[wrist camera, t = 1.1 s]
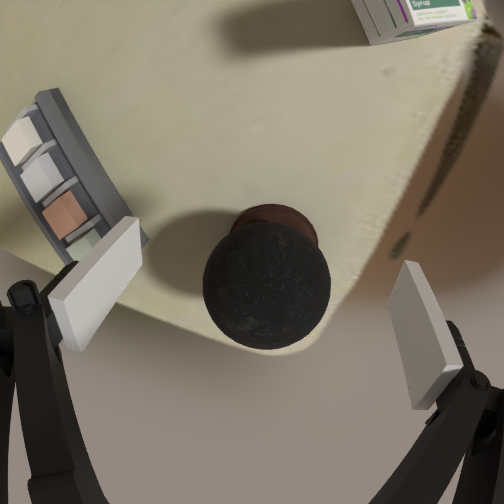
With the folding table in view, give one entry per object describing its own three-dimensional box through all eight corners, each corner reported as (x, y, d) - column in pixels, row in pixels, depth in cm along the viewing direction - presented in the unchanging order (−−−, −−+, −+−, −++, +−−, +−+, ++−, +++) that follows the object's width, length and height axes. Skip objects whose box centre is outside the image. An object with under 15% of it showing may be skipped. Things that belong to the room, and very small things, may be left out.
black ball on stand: (203, 254, 43) (165, 334, 30) (257, 174, 36) (233, 236, 24) (285, 303, 45) (276, 390, 32) (347, 236, 39) (366, 319, 26)
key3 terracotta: (52, 204, 38) (41, 212, 36) (69, 189, 36) (59, 197, 34) (69, 231, 40) (59, 239, 38) (87, 218, 38) (78, 226, 36)
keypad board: (11, 140, 37) (-8, 148, 33) (58, 87, 33) (36, 92, 29) (91, 268, 47) (77, 284, 43) (148, 239, 43) (135, 256, 39)
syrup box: (369, 47, 27) (415, 31, 15) (348, -1, 25) (379, -46, 12) (416, 38, 25) (482, 23, 13) (396, -10, 23) (449, -50, 11)
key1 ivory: (12, 135, 33) (1, 140, 31) (28, 116, 31) (16, 120, 29) (26, 160, 35) (14, 166, 33) (42, 143, 33) (30, 148, 31)
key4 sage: (75, 240, 40) (65, 249, 38) (94, 227, 39) (84, 236, 37) (93, 265, 42) (84, 275, 40) (113, 255, 40) (104, 265, 38)
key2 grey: (31, 169, 35) (19, 175, 33) (48, 152, 34) (36, 157, 32) (46, 196, 37) (35, 203, 35) (64, 180, 36) (53, 187, 34)
